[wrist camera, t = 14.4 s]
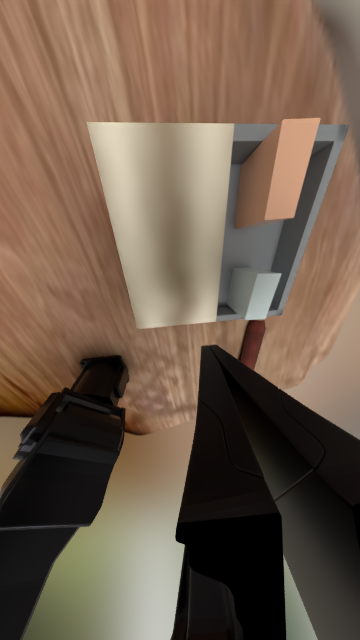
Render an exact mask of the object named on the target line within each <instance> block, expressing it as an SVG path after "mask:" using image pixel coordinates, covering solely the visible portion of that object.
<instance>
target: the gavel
mask: <svg viewBox="0 0 360 640" xmlns="http://www.w3.org/2000/svg"><path fill="white" fill-rule="evenodd" d="M265 329H266V328H265V321H264V319H256V320H251V321H250V323H249V324H248V328H247V332H246V337H245V341H244V346H243V351H242V355H241V360H240V361H241V362H242V363H243V364H245V365H246V366H248V367H249V368H251V369H252V370H253V371H254V368H255V364H256V361H257V357H258V354H259V350H260V347H261V343H262V340H263V336H264V332H265Z"/></svg>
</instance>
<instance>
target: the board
mask: <svg viewBox="0 0 360 640" xmlns="http://www.w3.org/2000/svg"><path fill="white" fill-rule="evenodd" d="M87 126H88V130H89V134H90V138H91V142H92V146H93V150H94V154H95V158H96V162H97V166H98V171H99V175H100V179H101V183H102V187H103V191H104V195H105V199H106V203H107V207H108V211H109V216H110V220H111V224H112V228H113V232H114V236H115V240H116V244H117V248H118V252H119V256H120V260H121V265H122V269H123V273H124V277H125V281H126V285H127V289H128V293H129V297H130V301H131V305H132V310H133V314H134V318H135V322H136V326H137V329H144V328H154V327H164V326H175V325H185V324H195V323H205V322H216V316H217V305H218V294H219V283H220V273H221V262H222V251H223V241H224V230H225V219H226V208H227V198H228V187H229V176H230V165H231V155H232V144H233V133H234V124H218V123H115V122H87Z"/></svg>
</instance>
